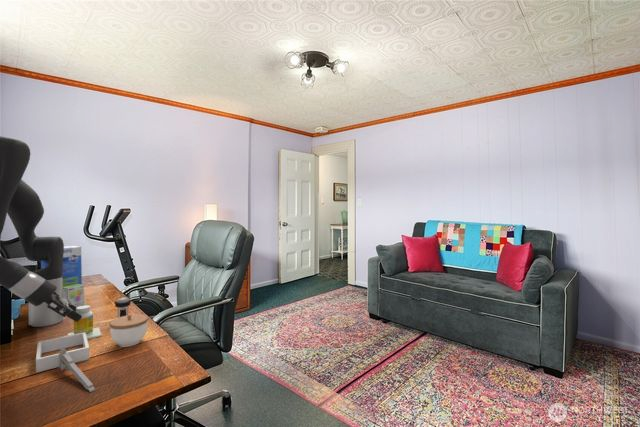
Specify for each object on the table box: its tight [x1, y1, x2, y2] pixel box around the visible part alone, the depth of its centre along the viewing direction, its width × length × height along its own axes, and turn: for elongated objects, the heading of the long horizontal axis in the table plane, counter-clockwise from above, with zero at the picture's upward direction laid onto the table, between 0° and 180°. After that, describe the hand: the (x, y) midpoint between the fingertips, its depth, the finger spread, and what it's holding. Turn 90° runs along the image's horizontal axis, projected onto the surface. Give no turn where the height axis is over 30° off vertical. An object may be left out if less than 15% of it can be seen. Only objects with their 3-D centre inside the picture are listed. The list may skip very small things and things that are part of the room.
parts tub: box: [35, 332, 90, 373], centre depth 94 cm, size 12×15×4 cm
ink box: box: [62, 276, 86, 311], centre depth 137 cm, size 7×4×13 cm, turn 161°
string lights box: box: [40, 245, 83, 284], centre depth 145 cm, size 13×8×26 cm, turn 153°
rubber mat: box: [66, 326, 102, 340], centre depth 108 cm, size 9×9×1 cm
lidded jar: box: [109, 313, 149, 348], centre depth 103 cm, size 11×11×9 cm
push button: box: [114, 297, 132, 318], centre depth 118 cm, size 7×5×10 cm
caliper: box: [58, 347, 96, 393], centre depth 81 cm, size 20×1×6 cm, turn 57°
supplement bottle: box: [73, 304, 94, 336], centre depth 108 cm, size 5×5×10 cm
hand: (78, 315), depth 107 cm, fingers open, 8 cm apart
